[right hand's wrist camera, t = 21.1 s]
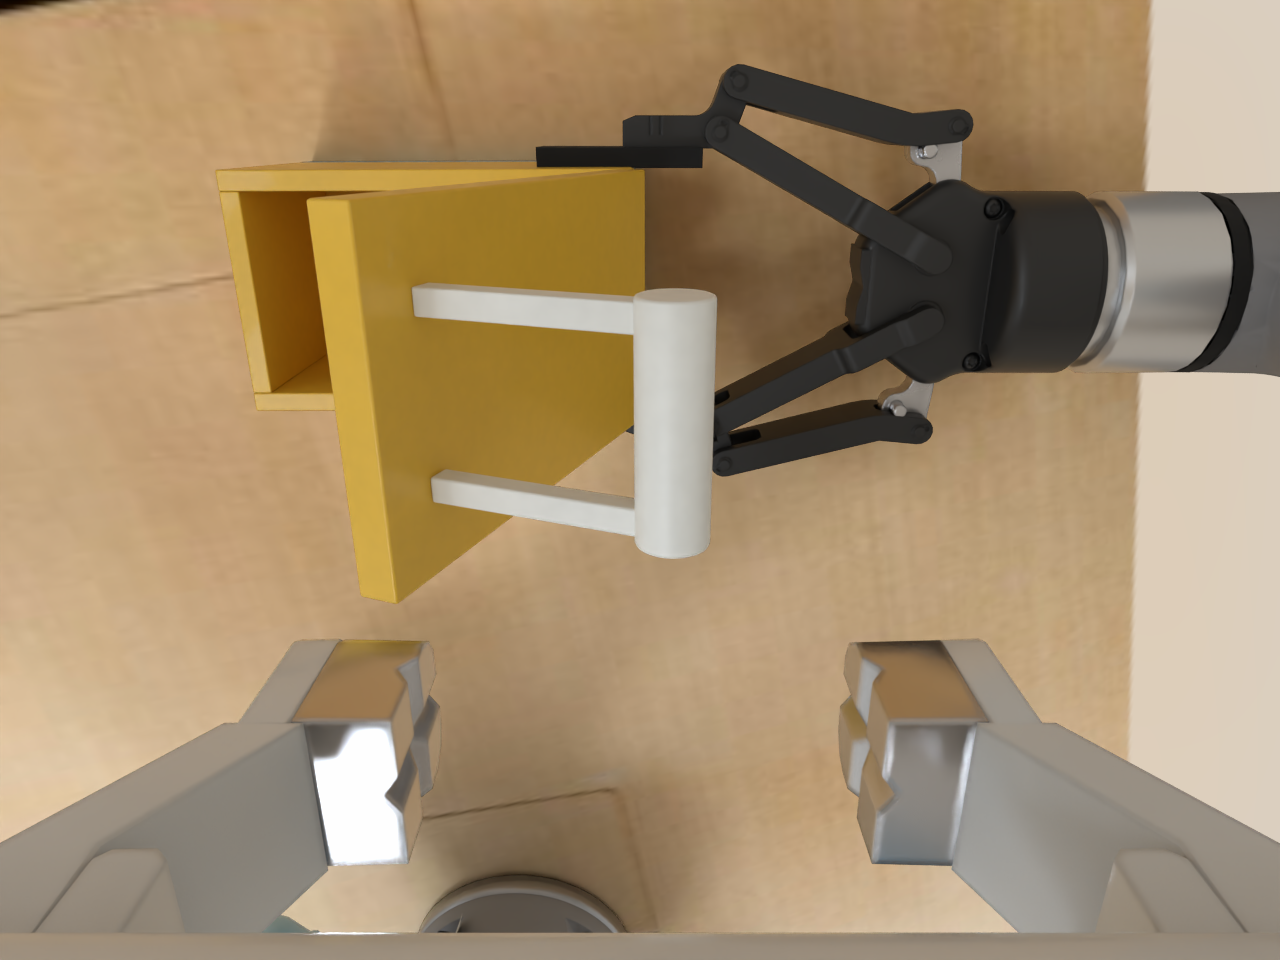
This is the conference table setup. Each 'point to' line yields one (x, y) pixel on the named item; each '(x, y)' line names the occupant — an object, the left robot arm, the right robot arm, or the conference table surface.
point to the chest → (312, 258)
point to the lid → (508, 368)
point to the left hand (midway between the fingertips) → (545, 283)
